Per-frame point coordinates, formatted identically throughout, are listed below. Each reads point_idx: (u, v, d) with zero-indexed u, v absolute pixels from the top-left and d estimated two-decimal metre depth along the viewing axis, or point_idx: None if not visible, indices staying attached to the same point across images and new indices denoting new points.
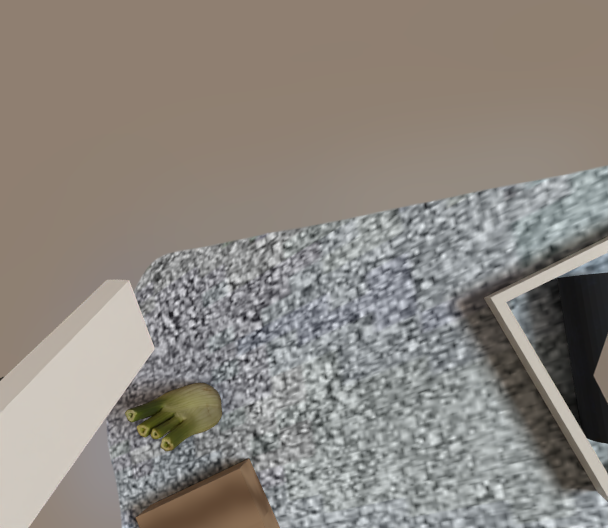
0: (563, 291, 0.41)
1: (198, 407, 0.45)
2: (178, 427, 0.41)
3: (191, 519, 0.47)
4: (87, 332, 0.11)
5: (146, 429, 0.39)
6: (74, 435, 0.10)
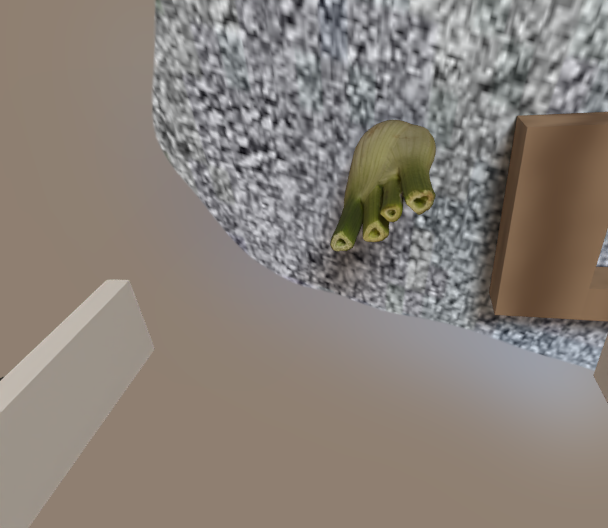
0: None
1: (391, 149, 0.25)
2: (403, 179, 0.22)
3: (550, 241, 0.28)
4: (87, 332, 0.11)
5: (376, 225, 0.21)
6: (74, 435, 0.10)
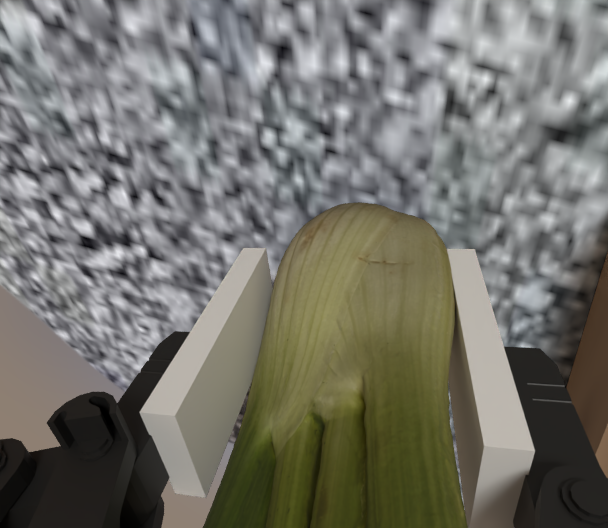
0: None
1: (349, 297, 0.10)
2: (372, 466, 0.07)
3: None
4: (246, 291, 0.12)
5: None
6: (240, 385, 0.11)
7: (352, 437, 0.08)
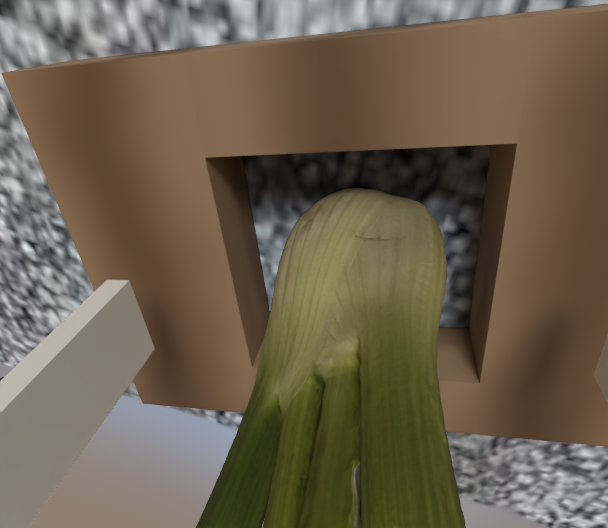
0: None
1: (346, 270, 0.11)
2: (365, 408, 0.08)
3: (155, 289, 0.16)
4: (87, 332, 0.11)
5: None
6: (74, 435, 0.10)
7: (349, 390, 0.09)
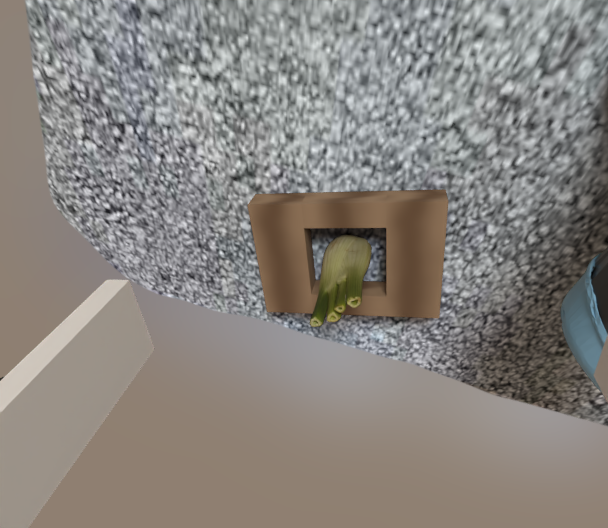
0: None
1: (343, 259, 0.43)
2: (347, 285, 0.40)
3: (281, 267, 0.48)
4: (87, 331, 0.11)
5: (333, 314, 0.39)
6: (74, 435, 0.10)
7: (344, 285, 0.41)
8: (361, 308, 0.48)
